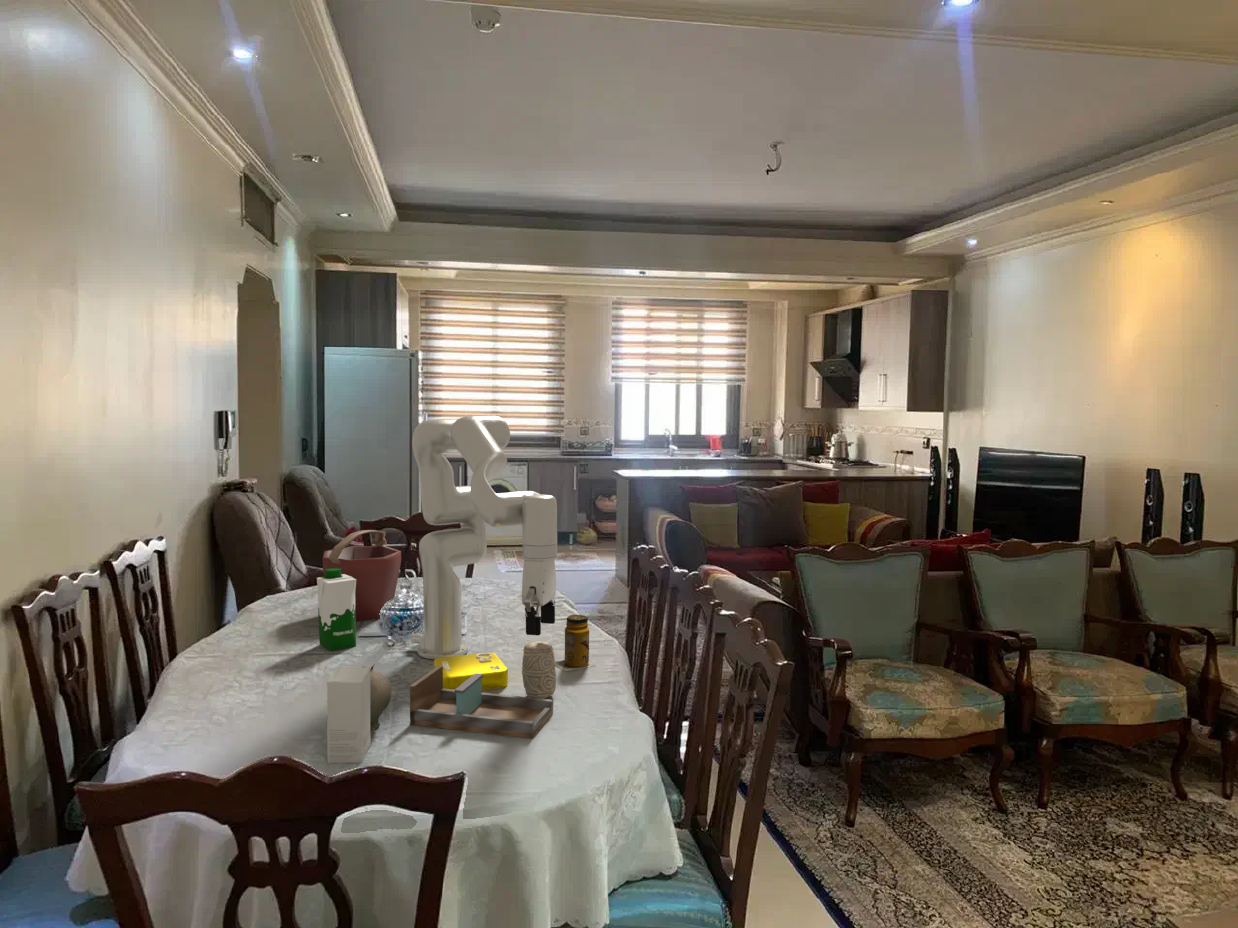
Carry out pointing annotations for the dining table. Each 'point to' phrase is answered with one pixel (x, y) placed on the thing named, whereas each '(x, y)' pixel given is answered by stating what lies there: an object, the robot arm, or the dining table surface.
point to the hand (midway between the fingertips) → (540, 628)
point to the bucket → (367, 571)
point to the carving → (539, 670)
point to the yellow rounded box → (473, 670)
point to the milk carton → (336, 610)
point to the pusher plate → (469, 694)
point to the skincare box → (348, 714)
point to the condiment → (576, 644)
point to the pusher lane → (476, 710)
